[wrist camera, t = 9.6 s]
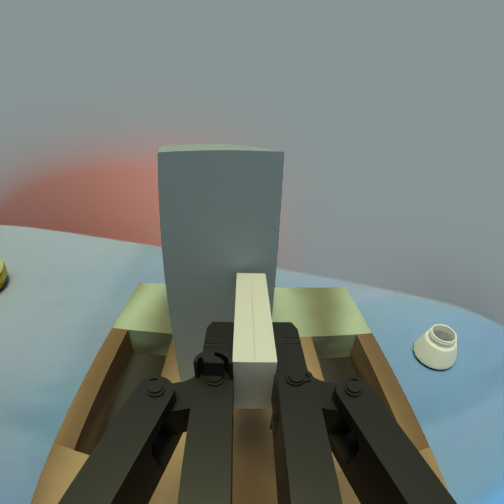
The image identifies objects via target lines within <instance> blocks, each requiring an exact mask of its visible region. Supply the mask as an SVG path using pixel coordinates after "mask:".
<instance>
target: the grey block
mask: <svg viewBox="0 0 504 504" xmlns="http://www.w3.org/2000/svg"><path fill="white" fill-rule="evenodd" d="M283 163H284V152H282V151H277V150H270V149H264V148H257V147H250V146H242V145H234V144H189V145H164V146H161V148H160V149H159V151H158V187H159V210H160V226H161V239H162V253H163V264H164V274H165V283H166V292H167V300H168V308H169V315H170V322H171V329H172V336H173V342H174V348H175V354H176V360H177V366H178V371H179V377H180V381H186V380H189V379H191V378H193V377H194V376H195V372H194V364H193V361H194V359H195V357H196V356H197V355H198V354H199V353H201V352H203V347H204V341H205V335H206V329H207V327H208V326H209V325H210V324H211V323H212V321H213V322H234V318H235V298H236V279H237V273H264V274H266V282H267V289H268V296H269V303H270V311H271V318H272V311H273V300H274V289H275V277H276V265H277V252H278V239H279V226H280V211H281V195H282V180H283Z"/></svg>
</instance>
